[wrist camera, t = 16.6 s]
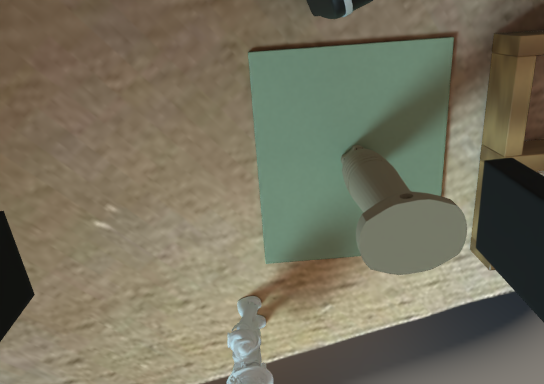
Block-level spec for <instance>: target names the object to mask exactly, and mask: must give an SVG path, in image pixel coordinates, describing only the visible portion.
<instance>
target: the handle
mask: <svg viewBox="0 0 544 384" xmlns="http://www.w3.org/2000/svg"><path fill="white" fill-rule="evenodd" d="M341 163H342V165H343V166H342V174H343V178H344V182H345V185H346V187H347V189H348V191H349V193H350V195H351V196H352V198H353V199H354V201H355V202H356V203H357V205H358V206H359V207H360V209H361V210H362V211H363V214H362V215H361V217H360V219H359V221H358V223H357V228H356V241H357V246H358V249H359V251H360V254H361V256H362V258H363V261H364V262H365V263H366V265H367V266H368V267H369V268H370V269H372V270H376V271H380V272H384V273H389V274H396V275H403V274H411V273H417V272H423V271H427V270H431V269H433V268H435V267H437V266H439V265H441V264H443V263H445V262H446V261H448V260H450V259H451V258H453V257H455V256H456V255H458V254H459V253H460V251H461V250H462V248H463V246H464V244H465V240H466V235H467V224H466V219H465V216H464V214H463V212H462V211H461V209H460V208H459V207H458V206H457V205H456V204H455V203H454V202H453V201H452V200H450V199H448V198H444V197H441V196H438V195H434V194H429V193H423V192H411V191H410V190H409V188H408V187H407V186H406V184H405V183H404V181H403V180H402V178H401V177H400V175H399V174H398V172H397V171H396V169H395V168H394V167H393V166H392V165H391V164H390V163H389V162H388V161H387V160H386V159H385V158H384V157H382V156H381V155H380V154H378V153H376V152H375V151H373V150H370V149H365V148H363V147H362V146H361V145H354V146H352V149H351V150H350V151H349V152H347V153H346V154H343V155H342V156H341Z"/></svg>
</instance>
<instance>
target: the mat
mask: <svg viewBox="0 0 544 384" xmlns="http://www.w3.org/2000/svg"><path fill="white" fill-rule="evenodd" d="M453 41H454V37H444V38H430V39H417V40H403V41H390V42H376V43H363V44H349V45H336V46H322V47H309V48H295V49H282V50H269V51H255V52H248V57H249V69H250V81H251V93H252V105H253V117H254V128H255V140H256V152H257V164H258V176H259V188H260V200H261V212H262V224H263V236H264V248H265V260H266V264H268V263H281V262H293V261H305V260H318V259H330V258H342V257H354V256H361V254H360V251H359V249H358V246H357V241H356V228H357V223H358V221H359V219H360V217H361V215H362V214H363V211H362V210H361V209H360V207H359V206H358V205H357V203H356V202H355V201H354V199H353V198H352V196H351V195H350V193H349V191H348V189H347V187H346V185H345V182H344V178H343V174H342V166H343V165H342V163H341V156H342V155H343V154H346V153H347V152H349V151H350V150H351V149H352V146H354V145H361V146H362V147H363V148H365V149H370V150H373V151H375V152H376V153H378V154H380V155H381V156H382V157H384V158H385V159H386V160H387V161H388V162H389V163H390V164H391V165H392V166H393V167H394V168H395V169H396V171H397V172H398V174H399V175H400V177H401V178H402V180H403V181H404V183H405V184H406V186H407V187H408V188H409V190H410V191H411V192H423V193H429V194H434V195H438V196H441V190H442V178H443V166H444V153H445V141H446V128H447V116H448V103H449V91H450V79H451V66H452V54H453Z"/></svg>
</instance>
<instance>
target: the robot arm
mask: <svg viewBox="0 0 544 384" xmlns="http://www.w3.org/2000/svg"><path fill="white" fill-rule="evenodd" d="M476 249H477V250H478V251H479V252H480V253H481V254H482V255H483V256H484V258H485V259H486V260H487V261H488V262H489V263H490V264H491V265H492V266H493V267H494V268H495V270H496V271H497V272H498V273H499V274H500V275H501V276H502V277H503V278H504V279H505V281H506V282H507V283H508V284H509V285H510V286H511V287H512V288H513V289H514V290H515V291H516V293H517V294H519V296H520V297H521V298H522V299H523V300H524V301H525V302H526V303H527V305H528V306H529V307H530V308H531V309H532V310H533V311H534V312H535V313H536V314H537V315H538V317H539V318H540V319H541V320H542V321H543V322H544V176H542V175H541V174H539V173H537V172H536V171H534V170H532V169H531V168H529V167H527V166H526V165H524V164H522V163H521V162H519V161H517V160H516V159H514V158H502V159H493V160H484V169H483V179H482V189H481V199H480V208H479V218H478V228H477V238H476ZM34 295H35V294H34V292H33V289H32V286H31V284H30V281H29V278H28V275H27V273H26V270H25V267H24V265H23V262H22V259H21V257H20V254H19V251H18V248H17V246H16V243H15V240H14V238H13V235H12V232H11V230H10V227H9V224H8V222H7V219H6V216H5V213H4V211H0V341H1V340H2V339H3V337H4V336H5V335H6V333H7V332H8V330H9V329H10V328H11V326H12V325H13V324H14V322H15V321H16V320H17V318H18V317H19V315H20V314H21V313H22V311H23V310H24V309H25V307H26V306H27V304H28V303H29V302H30V300H31V299H32V298H33V296H34Z"/></svg>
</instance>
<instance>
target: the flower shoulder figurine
mask: <svg viewBox="0 0 544 384" xmlns="http://www.w3.org/2000/svg"><path fill="white" fill-rule="evenodd" d="M237 305H238V311H239V313H240V315H241V316H242V318H241V320H240V322H239V323H238V324H237V325H235V326H234V328H233V329H232V331H233V330H234V329H235V328H236V327H237V330H235V331H233V332H232V333H230V334H229V333H228V347H229V348H230V347H231V349H232V350H233V360H234V362H235V364H234V367H233V371H232V374H231V375H230V376H229V378H228V380H227V384H273V376H272V374H271V372H270V371H269V370H268V369H266V364H265V363H264V362H263V363H261V352H260V345H261V338H260V336H261V332H260V329H261V328H263V327H265V325H266V319H265V317H263V316H261V315H256V314H257V311H258V309H259V308H260V307H261V300H260V299H259V298H258V297H256V296H249V297H245V298H242V299H240V300H239V301H238V303H237Z"/></svg>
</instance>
